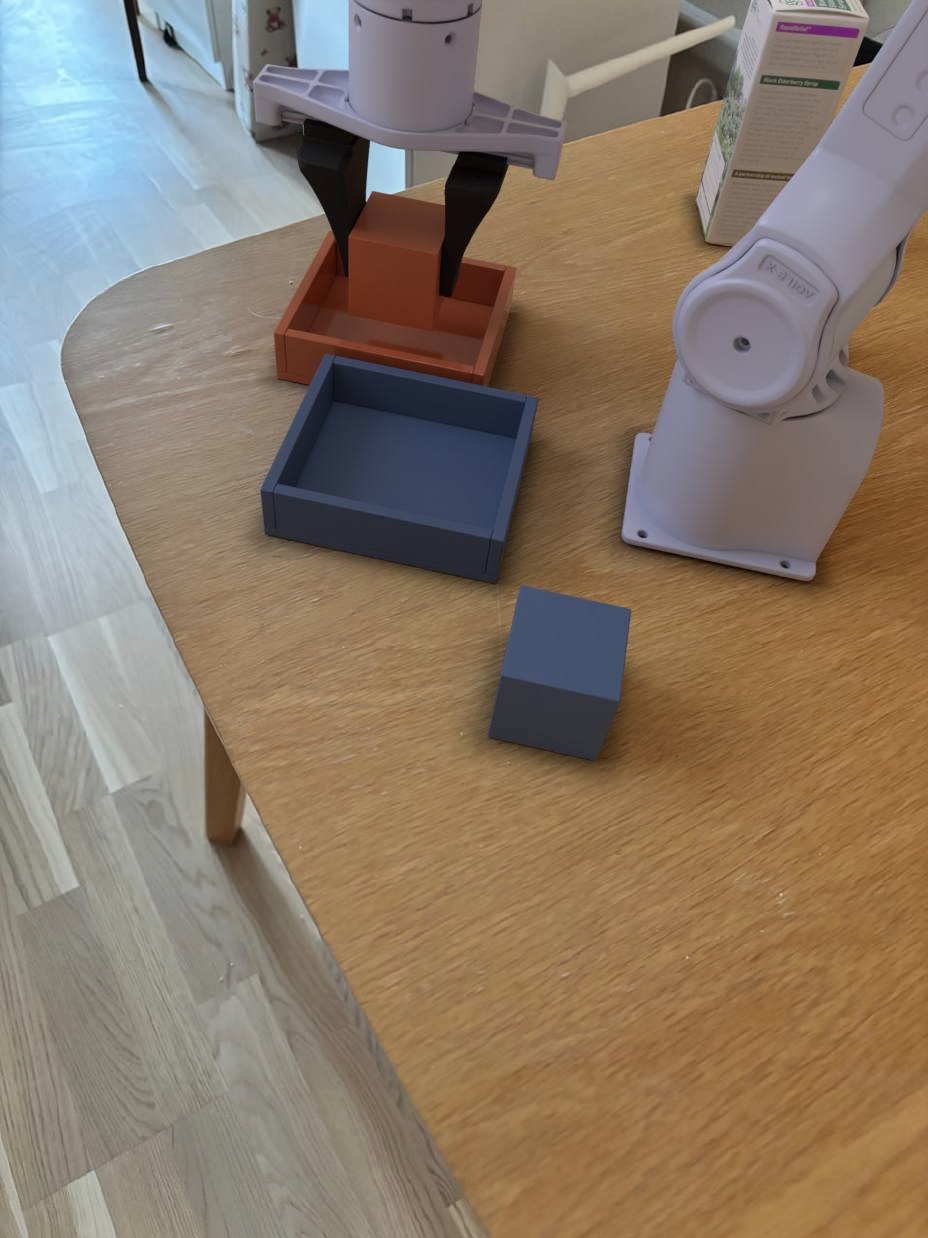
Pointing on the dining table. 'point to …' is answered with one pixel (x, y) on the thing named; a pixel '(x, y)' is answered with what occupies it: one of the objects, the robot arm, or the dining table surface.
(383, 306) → the terracotta block
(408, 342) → the terracotta bin
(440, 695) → the dining table surface
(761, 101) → the syrup box
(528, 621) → the blue block
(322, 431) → the blue bin
